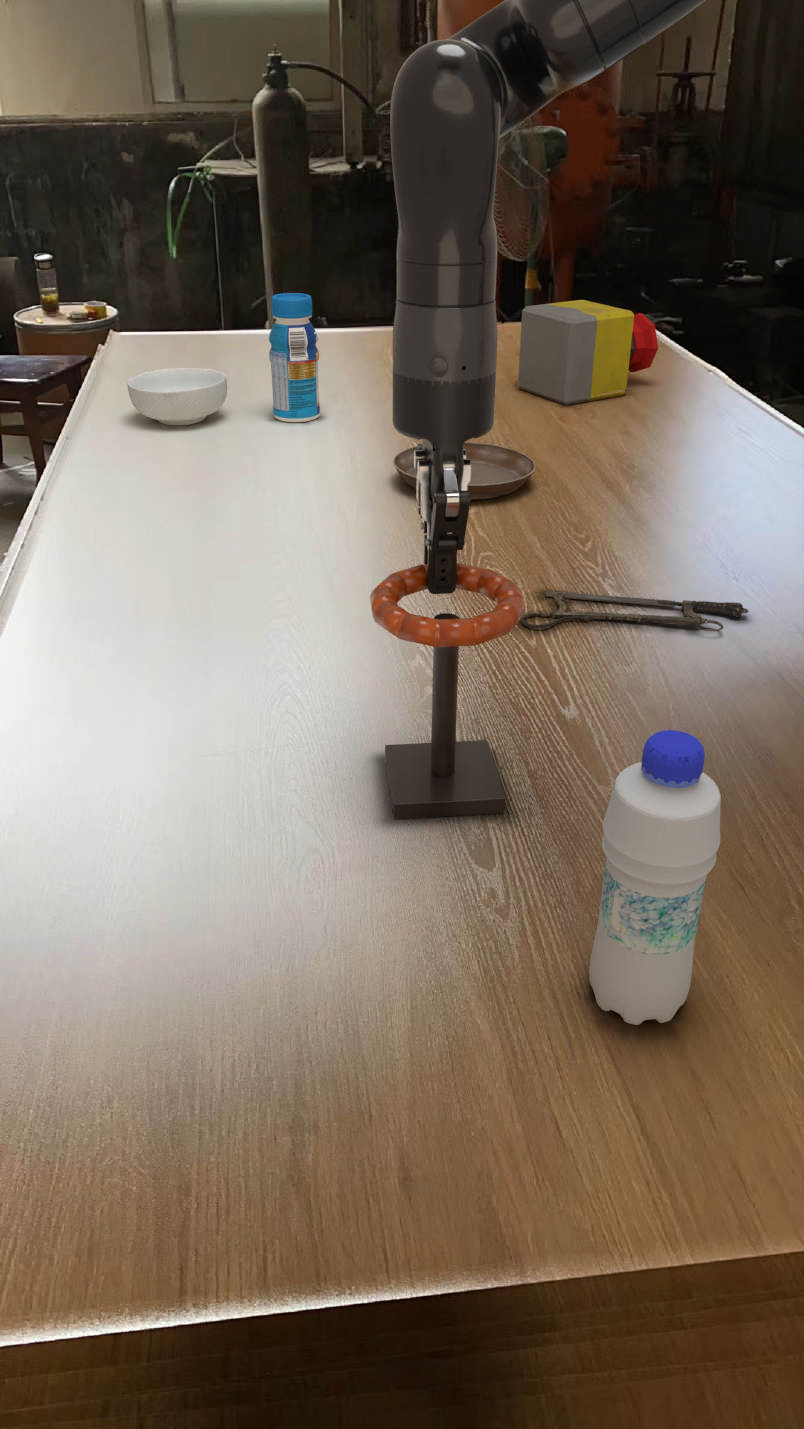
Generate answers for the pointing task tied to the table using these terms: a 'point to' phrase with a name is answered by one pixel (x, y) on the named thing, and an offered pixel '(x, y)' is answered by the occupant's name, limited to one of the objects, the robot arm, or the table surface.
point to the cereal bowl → (178, 394)
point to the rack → (443, 758)
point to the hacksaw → (687, 606)
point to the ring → (447, 629)
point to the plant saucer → (480, 469)
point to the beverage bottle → (294, 359)
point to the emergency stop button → (582, 350)
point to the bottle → (654, 879)
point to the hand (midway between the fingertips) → (439, 584)
